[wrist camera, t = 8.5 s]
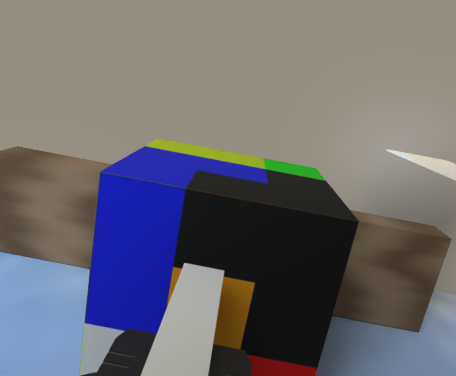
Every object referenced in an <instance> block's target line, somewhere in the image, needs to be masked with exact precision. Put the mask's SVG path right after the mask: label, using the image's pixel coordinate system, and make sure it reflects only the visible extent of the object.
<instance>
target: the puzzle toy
mask: <svg viewBox="0 0 456 376" xmlns="http://www.w3.org/2000/svg"><path fill="white" fill-rule="evenodd" d="M358 224H359V221H358V219H357V218H356V217H355V216H354V215H353V213H352V212H351V211H350V210H349V208H348V207H347V206H346V205H345V204H344V202H343V201H342V200H341V199H340V198H339V196H338V195H337V194H336V193H335V191H334V190H333V189H332V188H331V187H330V185H329V184H328V183H327V182H326V180H325V179H324V178H323V177H322V176H321V174H320V173H319V172H318V171H317V169H316V168H311V167H305V166H300V165H295V164H290V163H284V162H279V161H274V160H269V159H264V158H259V157H253V156H248V155H243V154H237V153H232V152H227V151H222V150H216V149H211V148H206V147H201V146H196V145H191V144H185V143H180V142H175V141H170V140H164V139H157V140H155V141H153V142H152V143H150V144H148V145H147V146H145V147H143V148H141V149H139V150H137V151H136V152H134V153H132V154H130V155H129V156H127V157H125V158H123V159H122V160H120V161H118V162H116V163H114V164H113V165H111V166H109V167H107V168H106V169H104V170H102V171H100V176H99V186H98V196H97V206H96V215H95V225H94V235H93V245H92V255H91V265H90V274H89V284H88V294H87V304H86V314H85V323H84V333H83V343H82V353H81V363H80V373H79V376H81V375H84V374H89V373H93V372H97V371H98V369H99V367H100V366H101V364H102V363H103V360H104V358H105V356H106V355H107V353H108V352H109V349H110V347H111V345H112V344H113V342H114V340H115V338H116V337H117V336H119V335H120V334H122V333H123V332H124V331H126V330H127V329H128V328H129V329H134V330H139V331H144V332H149V333H154V334H157V332H158V330H159V327H160V325H161V322H162V319H163V317H164V314H165V312H166V309H167V307H168V304H169V301H170V299H171V296H172V294H173V291H174V289H175V286H176V283H177V281H178V278H179V276H180V273H181V271H182V268H183V265H184V263H188V264H193V265H198V266H203V267H208V268H213V269H218V270H223V271H224V276H223V283H222V289H221V296H220V302H219V309H218V315H217V321H216V328H215V334H214V341H213V344H216V345H221V346H226V347H231V348H236V349H241V350H245V351H246V353H247V355H248V357H249V359H250V361H251V363H252V376H315V374H316V370H317V367H318V363H319V360H320V357H321V353H322V350H323V346H324V343H325V339H326V336H327V332H328V329H329V325H330V322H331V318H332V315H333V311H334V308H335V304H336V301H337V297H338V294H339V290H340V287H341V283H342V280H343V276H344V273H345V269H346V266H347V262H348V259H349V255H350V252H351V248H352V245H353V241H354V238H355V234H356V231H357V227H358Z"/></svg>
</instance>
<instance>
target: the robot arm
mask: <svg viewBox="0 0 456 376" xmlns="http://www.w3.org/2000/svg"><path fill="white" fill-rule="evenodd" d="M223 276H224V271H223V270H218V269H213V268H208V267H203V266H198V265H193V264H188V263H184V265H183V268H182V271H181V273H180V276H179V278H178V281H177V283H176V286H175V289H174V291H173V294H172V296H171V299H170V301H169V304H168V307H167V309H166V312H165V314H164V317H163V319H162V322H161V325H160V327H159V330H158V332H157V334H154V333H149V332H144V331H139V330H134V329H129V328H128V329H127V330H126V331H124V332H123V333H122V334H120V335H119V336H117V337H116V338H115V340H114V342H113V344H112V345H111V347H110V349H109V352H108V353H107V355H106V356H105V358H104V360H103V363H102V364H101V366H100V367H99V369H98V371H97V372H93V373H89V374H84V375H81V376H252V363H251V361H250V359H249V357H248V355H247V353H246V351H245V350H241V349H236V348H231V347H226V346H221V345H216V344H213V341H214V334H215V328H216V321H217V315H218V309H219V302H220V296H221V289H222V283H223Z"/></svg>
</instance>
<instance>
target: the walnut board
mask: <svg viewBox="0 0 456 376" xmlns="http://www.w3.org/2000/svg"><path fill="white" fill-rule="evenodd" d="M111 165H112V164H106V163H101V162H96V161H91V160H85V159H80V158H75V157H69V156H64V155H59V154H54V153H49V152H43V151H38V150H33V149H28V148H23V147H14V148H10V149H6V150H2V151H0V251H1V252H7V253H12V254H17V255H22V256H27V257H32V258H38V259H43V260H48V261H53V262H58V263H64V264H69V265H74V266H79V267H84V268H89V269H90V265H91V255H92V245H93V235H94V225H95V215H96V206H97V196H98V186H99V176H100V171H102V170H104V169H106V168H107V167H109V166H111ZM350 211H351V212H352V213H353V215H354V216H355V217H356V218H357V219H358V221H359V224H358V227H357V231H356V234H355V238H354V241H353V245H352V248H351V252H350V255H349V259H348V262H347V266H346V269H345V273H344V276H343V280H342V283H341V287H340V290H339V294H338V297H337V301H336V304H335V308H334V311H333V316H338V317H343V318H348V319H353V320H359V321H364V322H369V323H374V324H379V325H384V326H390V327H395V328H400V329H405V330H410V331H416V332H419V329H420V327H421V324H422V321H423V318H424V315H425V312H426V310H427V307H428V304H429V301H430V298H431V296H432V293H433V290H434V287H435V284H436V281H437V279H438V276H439V273H440V270H441V267H442V264H443V261H444V259H445V256H446V253H447V250H448V248H449V244H450V242H451V238H449V237H448V236H447V235H445V234H444V233H443V232H441V231H440V230H439V229H437V228H436V227H435V226H430V225H425V224H420V223H414V222H409V221H404V220H399V219H394V218H389V217H383V216H378V215H373V214H367V213H362V212H357V211H352V210H350Z"/></svg>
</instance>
